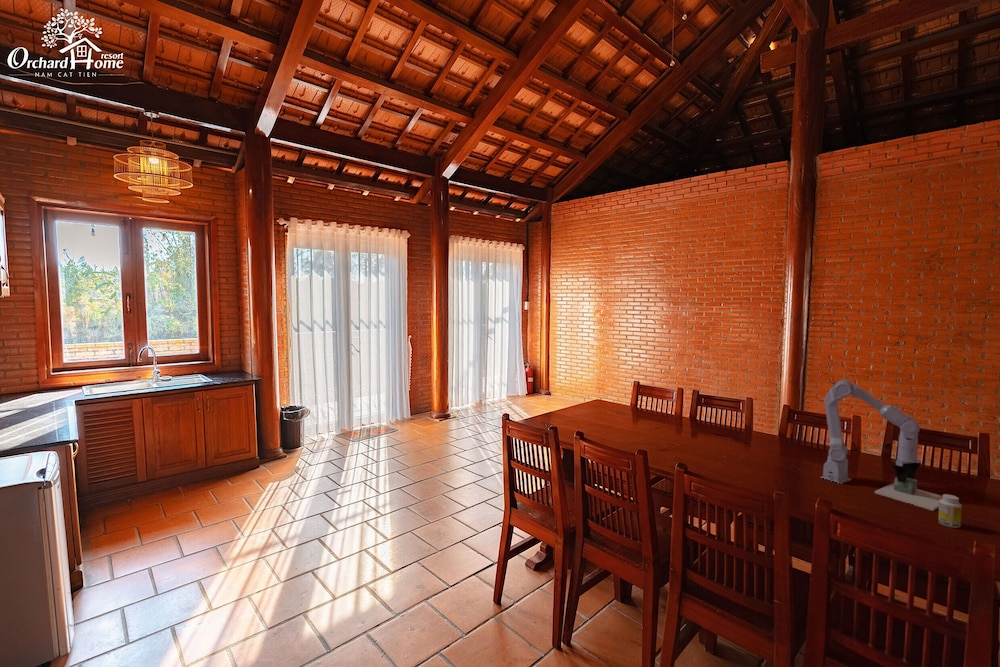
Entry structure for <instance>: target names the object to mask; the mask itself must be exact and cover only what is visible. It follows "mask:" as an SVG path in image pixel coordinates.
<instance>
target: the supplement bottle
mask: <svg viewBox="0 0 1000 667" xmlns="http://www.w3.org/2000/svg"><path fill="white" fill-rule="evenodd" d="M942 496H943V499H941V500H940V501H939V508H938V523H939V524H941V525H942V526H944V527H949V528H953V529H958V528H960V527H961V525H962V523H961V522H962V510H963V509H962V508H963V505H962V504H961V503H960V502H959V501H960V498H959V497H957V496H956V495H952V494H948V493H945V494H942Z"/></svg>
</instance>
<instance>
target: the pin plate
mask: <svg viewBox="0 0 1000 667" xmlns="http://www.w3.org/2000/svg"><path fill="white" fill-rule="evenodd" d="M874 494H876V495H880V496H883V497H887V498H890V499H893V500H896V501H899V502H903V503H907V504H909V503H910V505H912V504H913V506H916V507H918V508H919V507H920V508H923V509H926V510H929V511H936V510H938V509H939V501H940V500H941V499H943V495H940V494H937V493H932V492H929V491H926V490H922V489H918V488H917V492H916V493H914V494H912V495H909V494H906V493H903V492H899V491H896V490H894V482H893V483H890V484H887V485H886V486H883V487H881V488H878V489H876V490H875V491H874Z"/></svg>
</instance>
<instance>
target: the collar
mask: <svg viewBox="0 0 1000 667" xmlns="http://www.w3.org/2000/svg"><path fill="white" fill-rule="evenodd" d="M893 483H894V490H896V491H899V492H903V493H906V494H909V495H912V494H914V493H916V492H917V489H918V480H917V479H914V478H913V479H911V478H906V482H905V483H903V482H899V481H898V479H897V477H895V478H894V482H893Z"/></svg>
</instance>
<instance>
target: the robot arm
mask: <svg viewBox="0 0 1000 667" xmlns="http://www.w3.org/2000/svg"><path fill="white" fill-rule="evenodd" d="M850 396H851V397H850ZM847 397H850V398H854V399H860V400H861V401H863V402H865V403H866V404H868V405H869V406H871V407H873V408H875V409H876V410H877V411H878V413H879V415H880V416H881V417H882V418H884V419H885V420H886V421H888V422H889V423H891V424H893V425H895V426H897V427H899V429H900V432H899V434H898V445H897V446H898V448H897V456H896V460H895V462H892V464H891V466H892V467H893V468H894V472H895V475H896V478H897V479H898V481H899V482H903V483H905V482H906V478H911V479H914V478H915V476H916V473H917V470H918V469H919V467H920V466H921V465H922V463H921V460H919V459H918V458H919V457H918V447H919V446H918V444H919V438H918V436H919V433H920V430H921V429H920V426H919V423H918V421H917V420H916V419H915V418H913V417H911V415H909V414H905V413H904V412H902V411H901V410H899V408H898V406H896V405H892V404H884V403H883V402H881V401H880V400H879V399H877V398H876V397H875V396H874V395H872V394H870V393H869V392H868V391H866V390H865V389H864V388H862V387H860V386H858V385H856V384H855V383H852V382H851V381H850V380H848V379H841V380H839V381H836V383H834V384H833V385H832V386H831V388H830V389H829V390H828V392H827V394H826V395H825V396H824V397H823V402H824V409H825V415H826V422H827V428H828V435H829V436H828V437H829V450H828V452H827V453H828V455H827V461H825V463H823V468H822V469H823V471H822V476H820V479H822V478H824V480H826V479H827V481H829V480H830V481H829V482H832V481H834V483H835V482H837V483H836V484H839V483H840V485H842V484H845V483H847V481H848V482H849V481H852V478H850V477H848V467H849V459H848V458H847V457H848V456H847V453H848V447H847V446H846V444H845V442H844V437H843V431H842V426H841V418H840V412H839V405H838V403H839V402H840V401H841V400H842V399H844V398H847ZM844 482H845V483H844Z"/></svg>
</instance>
